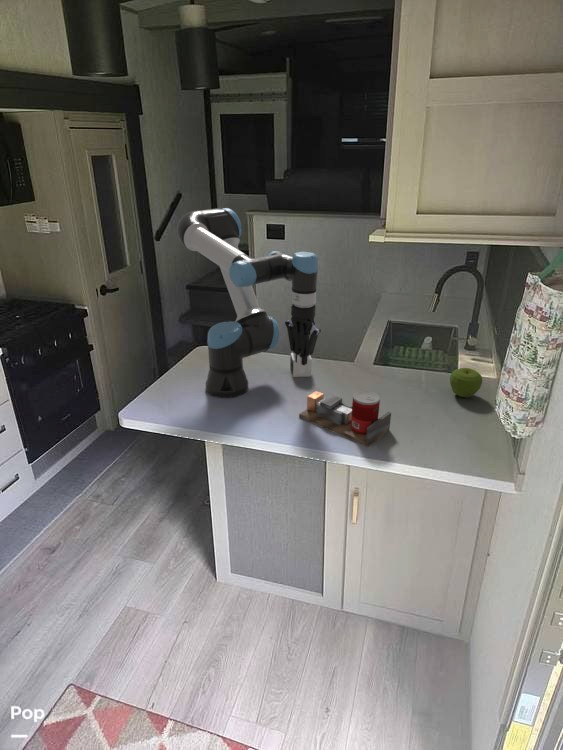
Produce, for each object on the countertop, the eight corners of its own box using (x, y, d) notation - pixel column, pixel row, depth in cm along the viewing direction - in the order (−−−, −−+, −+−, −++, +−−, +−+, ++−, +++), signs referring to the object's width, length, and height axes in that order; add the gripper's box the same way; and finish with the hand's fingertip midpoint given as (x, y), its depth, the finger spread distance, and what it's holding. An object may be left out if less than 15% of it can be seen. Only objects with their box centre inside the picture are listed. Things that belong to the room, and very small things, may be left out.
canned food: (376, 436, 154) (379, 404, 149) (349, 433, 155) (351, 401, 150) (377, 423, 161) (380, 392, 156) (351, 420, 162) (353, 389, 157)
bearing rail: (299, 417, 166) (299, 399, 163) (321, 403, 174) (322, 386, 172) (368, 446, 151) (370, 427, 148) (389, 430, 159) (391, 411, 156)
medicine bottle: (290, 369, 198) (290, 340, 193) (308, 368, 199) (309, 339, 194) (292, 377, 192) (293, 347, 187) (311, 376, 193) (312, 347, 188)
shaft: (307, 409, 168) (307, 396, 166) (315, 403, 171) (316, 390, 169) (345, 425, 159) (346, 411, 157) (354, 418, 162) (355, 405, 160)
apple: (448, 386, 186) (452, 361, 182) (479, 391, 183) (484, 365, 179) (446, 399, 177) (450, 373, 173) (478, 405, 174) (483, 378, 169)
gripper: (279, 301, 160) (278, 370, 171) (312, 312, 153) (309, 382, 163) (295, 296, 165) (293, 363, 176) (327, 306, 158) (323, 374, 168)
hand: (300, 372), depth 170 cm, fingers closed
